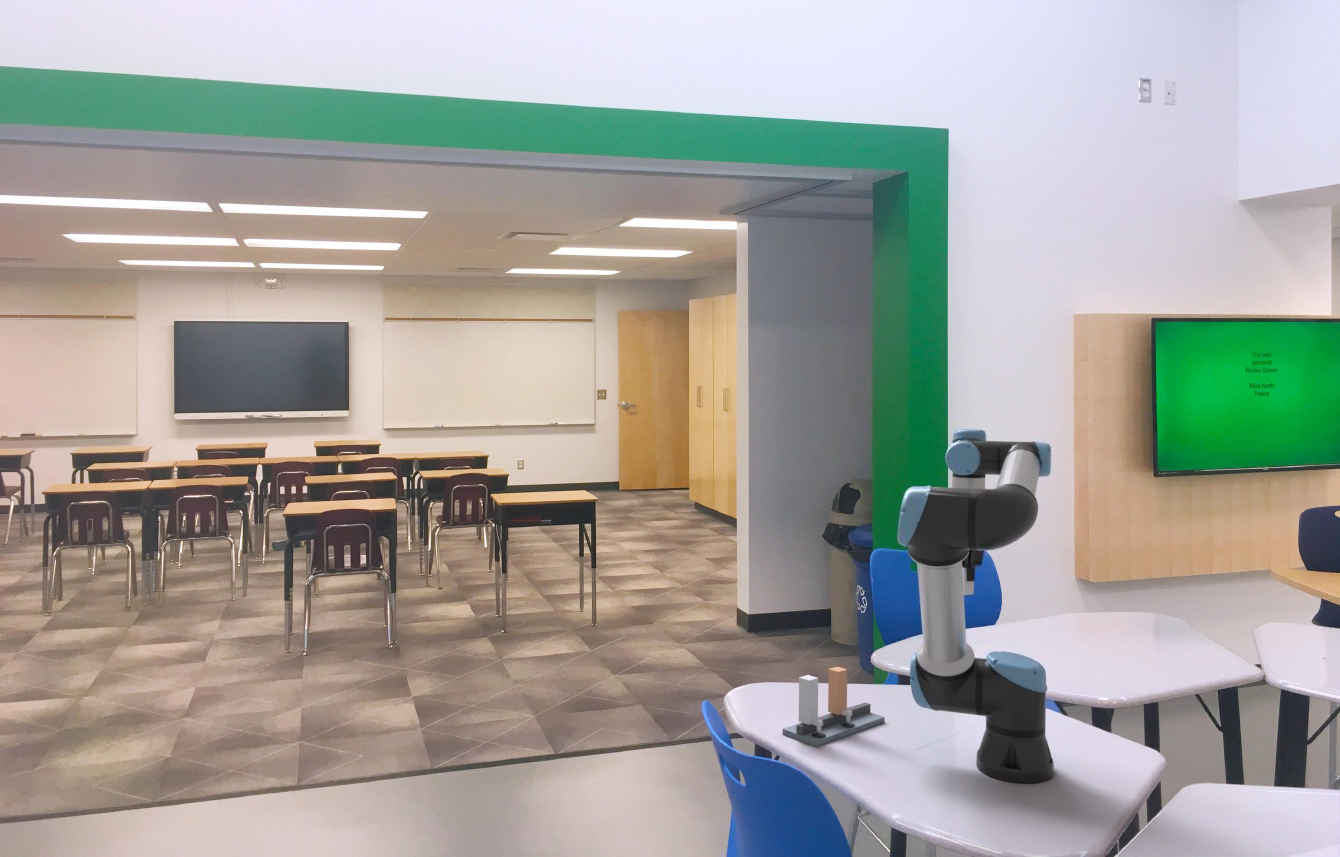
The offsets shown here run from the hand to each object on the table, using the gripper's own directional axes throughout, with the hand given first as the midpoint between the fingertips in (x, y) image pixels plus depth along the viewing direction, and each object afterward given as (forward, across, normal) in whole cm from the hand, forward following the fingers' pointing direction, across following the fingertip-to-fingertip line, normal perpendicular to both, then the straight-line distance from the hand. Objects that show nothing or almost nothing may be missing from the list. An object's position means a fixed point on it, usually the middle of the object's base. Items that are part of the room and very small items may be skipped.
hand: (966, 593), depth 238 cm
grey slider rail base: (+29, +4, +33) cm, 44 cm away
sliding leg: (+27, +3, +32) cm, 42 cm away
